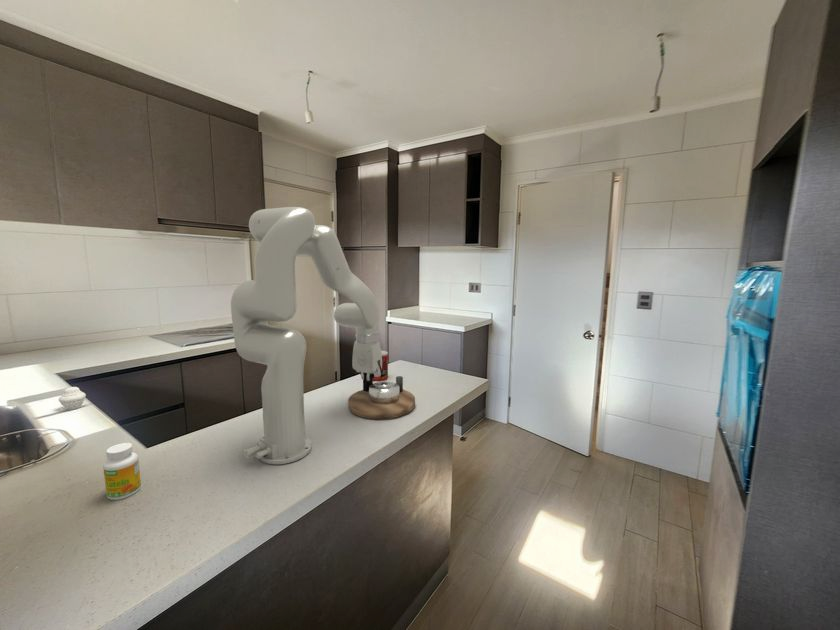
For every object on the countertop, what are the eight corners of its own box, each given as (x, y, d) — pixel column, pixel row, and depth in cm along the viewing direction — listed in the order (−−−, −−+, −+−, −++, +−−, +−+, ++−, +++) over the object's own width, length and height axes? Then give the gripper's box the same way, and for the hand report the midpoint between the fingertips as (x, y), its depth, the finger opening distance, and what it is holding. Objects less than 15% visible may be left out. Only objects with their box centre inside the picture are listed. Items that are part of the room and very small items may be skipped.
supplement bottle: (102, 503, 68) (96, 457, 67) (113, 487, 73) (107, 443, 72) (136, 496, 70) (131, 451, 69) (144, 481, 75) (140, 438, 74)
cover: (386, 406, 110) (386, 391, 109) (362, 399, 116) (362, 384, 115) (405, 397, 118) (405, 382, 118) (382, 390, 124) (382, 376, 123)
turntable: (384, 425, 102) (384, 402, 101) (334, 406, 115) (333, 385, 114) (427, 402, 119) (428, 382, 118) (380, 387, 132) (380, 370, 131)
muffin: (80, 410, 110) (77, 389, 109) (55, 413, 108) (52, 391, 107) (91, 403, 116) (88, 382, 115) (67, 405, 114) (64, 384, 113)
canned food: (384, 382, 140) (384, 355, 139) (365, 380, 142) (365, 354, 140) (390, 376, 148) (390, 350, 146) (372, 374, 149) (372, 349, 148)
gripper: (343, 337, 119) (344, 388, 122) (376, 343, 111) (376, 398, 113) (359, 333, 125) (360, 382, 128) (391, 339, 117) (391, 392, 119)
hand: (368, 390), depth 121 cm, fingers closed
